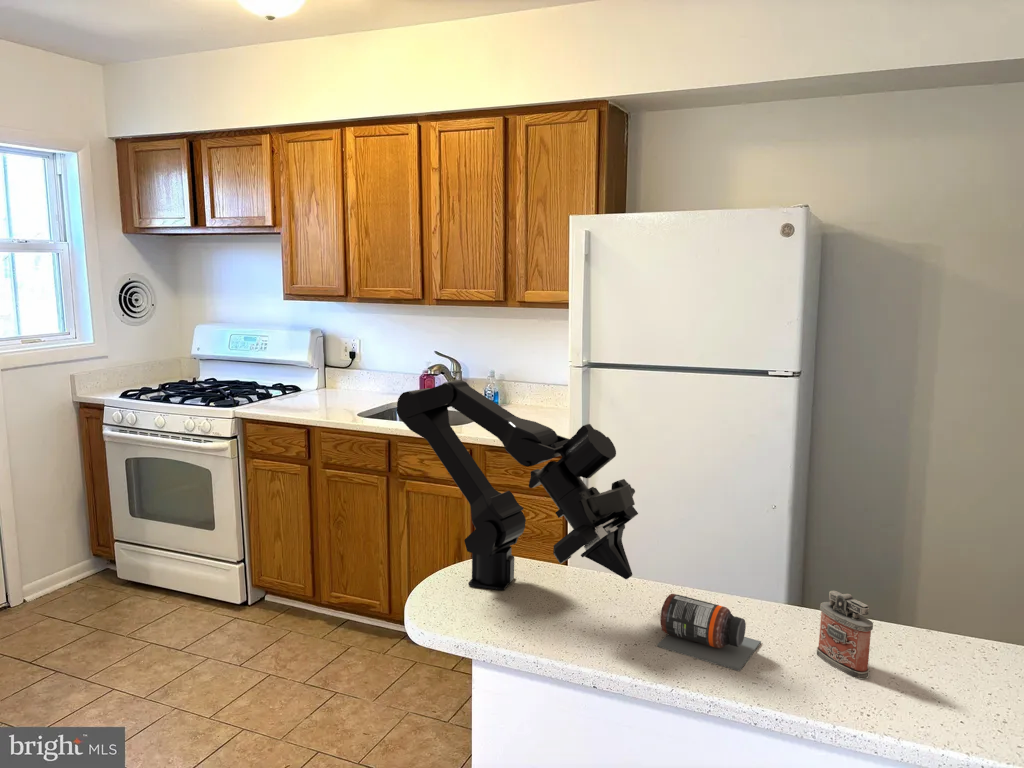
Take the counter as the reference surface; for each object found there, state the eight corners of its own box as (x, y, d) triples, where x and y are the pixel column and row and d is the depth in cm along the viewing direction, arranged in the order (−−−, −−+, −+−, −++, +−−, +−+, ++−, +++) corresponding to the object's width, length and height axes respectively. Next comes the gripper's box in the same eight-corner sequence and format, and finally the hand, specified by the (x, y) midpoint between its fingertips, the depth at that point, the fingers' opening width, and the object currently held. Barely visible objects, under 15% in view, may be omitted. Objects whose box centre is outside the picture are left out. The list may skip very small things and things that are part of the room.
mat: (657, 646, 109) (657, 644, 109) (682, 621, 118) (682, 619, 118) (739, 671, 103) (739, 669, 103) (760, 643, 111) (760, 641, 111)
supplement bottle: (676, 608, 117) (749, 628, 111) (662, 640, 113) (737, 663, 107) (670, 584, 113) (746, 603, 107) (656, 616, 110) (733, 638, 103)
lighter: (810, 653, 108) (815, 586, 107) (828, 649, 110) (833, 583, 108) (856, 680, 101) (862, 609, 100) (874, 676, 102) (881, 605, 101)
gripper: (574, 477, 109) (640, 569, 105) (630, 455, 125) (689, 534, 120) (527, 519, 115) (587, 607, 110) (585, 492, 130) (640, 569, 126)
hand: (629, 577), depth 116 cm, fingers closed
